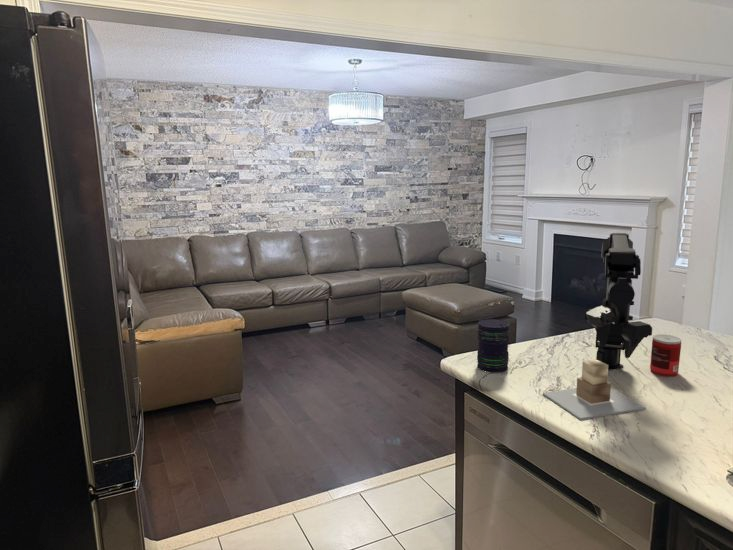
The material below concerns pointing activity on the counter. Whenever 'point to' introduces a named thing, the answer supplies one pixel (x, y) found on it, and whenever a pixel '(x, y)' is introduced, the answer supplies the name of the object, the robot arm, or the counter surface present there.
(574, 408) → the build mat
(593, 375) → the maple block
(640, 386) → the counter surface
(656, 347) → the canned food
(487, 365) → the black jar
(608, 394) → the walnut block
